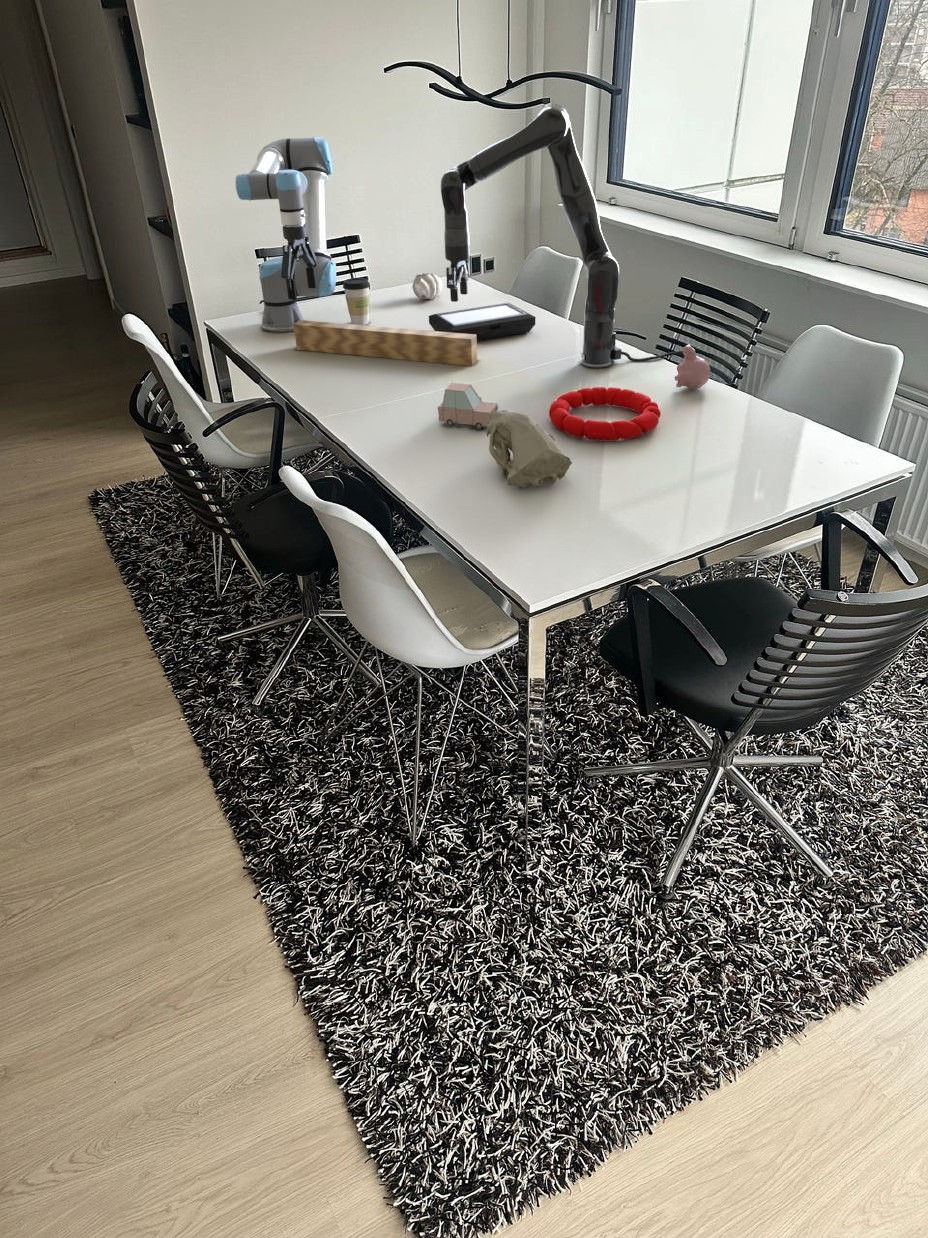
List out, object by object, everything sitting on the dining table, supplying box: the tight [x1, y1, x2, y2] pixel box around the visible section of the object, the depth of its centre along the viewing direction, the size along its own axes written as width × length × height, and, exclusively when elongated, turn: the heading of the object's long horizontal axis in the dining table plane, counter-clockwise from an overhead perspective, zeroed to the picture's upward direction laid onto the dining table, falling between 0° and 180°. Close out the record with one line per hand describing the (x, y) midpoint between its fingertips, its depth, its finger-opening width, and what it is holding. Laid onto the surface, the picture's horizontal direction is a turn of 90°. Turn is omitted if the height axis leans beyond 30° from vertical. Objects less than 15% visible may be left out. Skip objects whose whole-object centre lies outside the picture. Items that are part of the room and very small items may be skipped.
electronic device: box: [428, 302, 537, 341], centre depth 312 cm, size 32×6×20 cm
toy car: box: [437, 382, 499, 431], centre depth 243 cm, size 9×15×10 cm, turn 70°
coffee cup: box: [342, 277, 371, 326], centre depth 323 cm, size 10×10×15 cm
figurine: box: [674, 344, 711, 390], centre depth 259 cm, size 9×11×12 cm
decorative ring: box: [548, 386, 661, 442], centre depth 242 cm, size 7×30×30 cm
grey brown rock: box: [485, 409, 573, 489], centre depth 216 cm, size 17×25×20 cm
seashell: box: [411, 272, 443, 300], centre depth 348 cm, size 10×15×10 cm
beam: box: [293, 319, 478, 367], centre depth 294 cm, size 64×5×9 cm, turn 70°
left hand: (302, 293), depth 295 cm, fingers open, 13 cm apart
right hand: (459, 297), depth 277 cm, fingers open, 8 cm apart
